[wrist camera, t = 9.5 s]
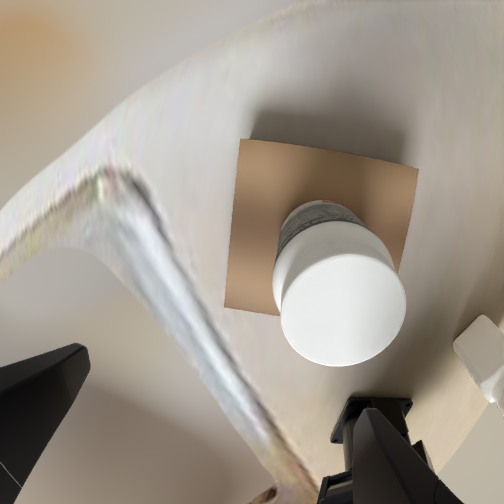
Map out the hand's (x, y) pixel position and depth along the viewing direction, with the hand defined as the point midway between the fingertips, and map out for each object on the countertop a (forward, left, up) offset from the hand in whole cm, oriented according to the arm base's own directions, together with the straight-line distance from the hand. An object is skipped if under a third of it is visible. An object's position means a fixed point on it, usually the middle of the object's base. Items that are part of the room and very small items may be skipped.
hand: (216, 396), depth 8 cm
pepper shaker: (-5, -19, -13) cm, 24 cm away
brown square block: (+2, -3, -13) cm, 14 cm away
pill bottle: (+2, -3, -10) cm, 11 cm away
